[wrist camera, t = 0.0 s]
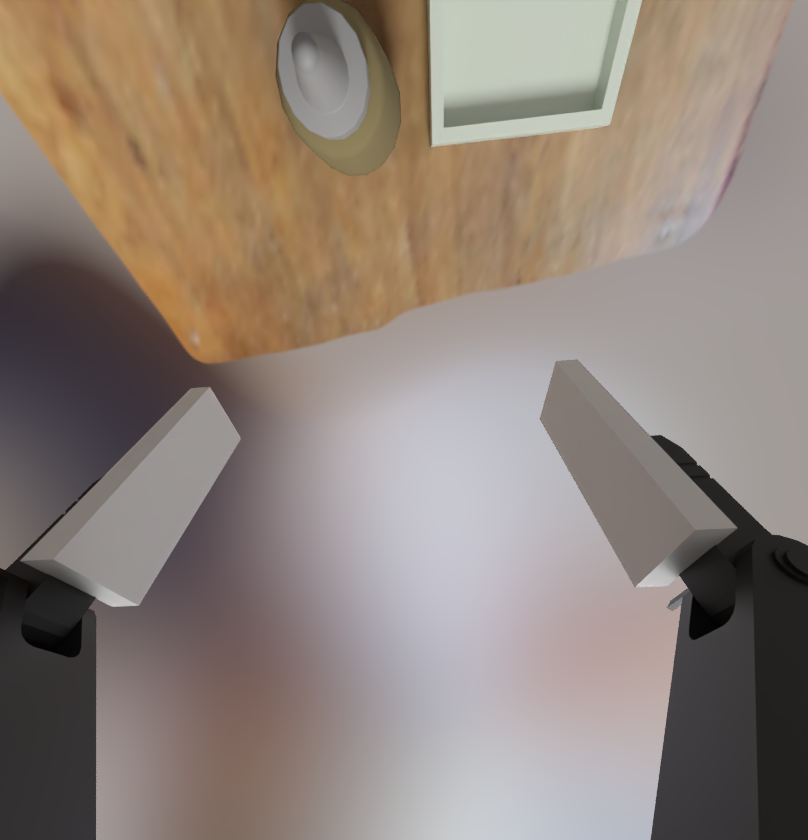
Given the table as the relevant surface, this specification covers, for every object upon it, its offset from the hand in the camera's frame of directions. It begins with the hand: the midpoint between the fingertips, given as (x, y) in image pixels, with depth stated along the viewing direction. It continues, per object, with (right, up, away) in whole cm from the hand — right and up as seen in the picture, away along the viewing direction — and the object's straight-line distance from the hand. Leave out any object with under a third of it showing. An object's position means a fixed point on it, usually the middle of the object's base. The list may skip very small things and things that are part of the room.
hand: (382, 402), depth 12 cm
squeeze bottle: (-3, +26, +15) cm, 30 cm away
